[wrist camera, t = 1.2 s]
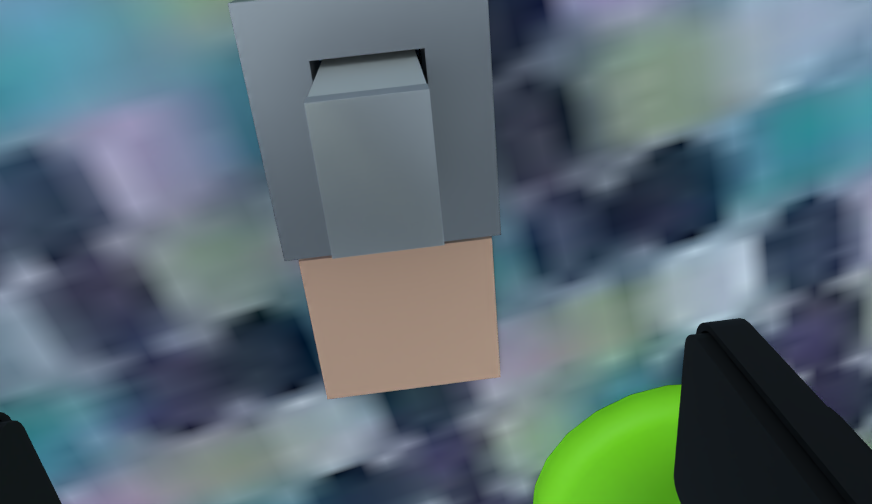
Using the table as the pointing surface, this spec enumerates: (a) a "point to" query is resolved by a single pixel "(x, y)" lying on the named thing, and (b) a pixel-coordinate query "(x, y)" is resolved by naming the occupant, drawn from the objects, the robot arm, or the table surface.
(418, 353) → the mat
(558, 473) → the wineglass
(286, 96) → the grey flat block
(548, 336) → the table surface
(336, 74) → the plug
